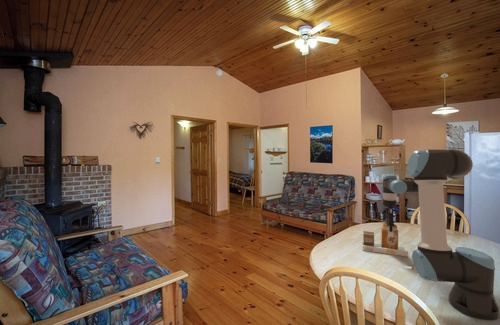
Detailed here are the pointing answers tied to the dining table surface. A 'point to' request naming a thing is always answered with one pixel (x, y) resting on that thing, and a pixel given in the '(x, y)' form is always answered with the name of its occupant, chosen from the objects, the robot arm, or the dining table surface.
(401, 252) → the shelf board
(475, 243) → the dining table surface
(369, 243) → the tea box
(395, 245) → the canister
